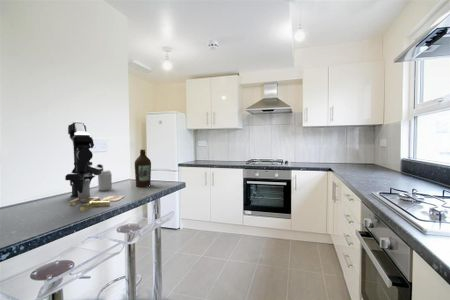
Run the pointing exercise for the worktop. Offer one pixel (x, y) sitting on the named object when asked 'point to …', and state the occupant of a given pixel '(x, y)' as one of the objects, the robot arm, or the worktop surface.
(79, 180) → the robot arm
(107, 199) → the wooden panel
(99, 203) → the yellow l-shaped bracket
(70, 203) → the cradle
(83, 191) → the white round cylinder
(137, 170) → the olive oil
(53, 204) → the worktop surface
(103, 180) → the can
